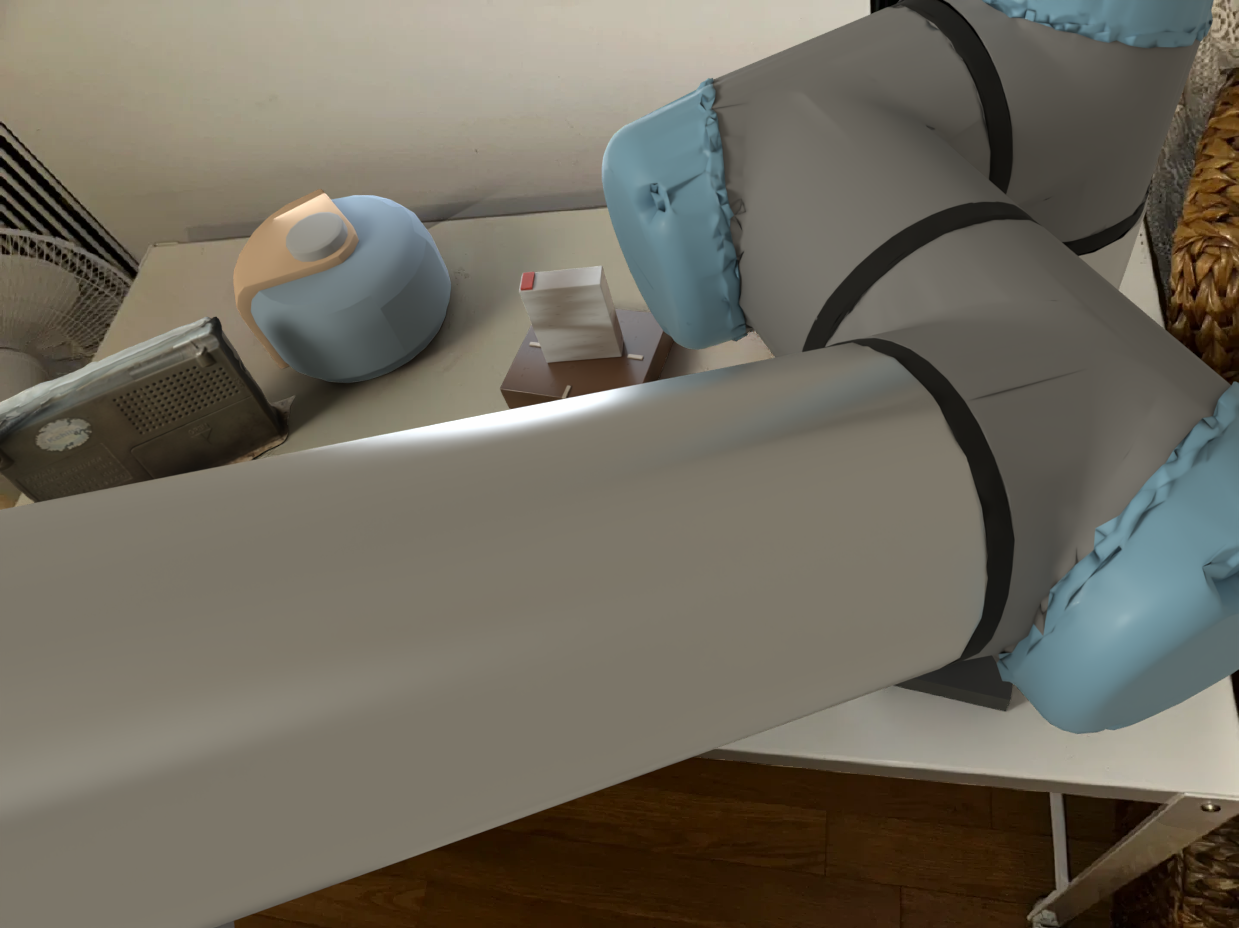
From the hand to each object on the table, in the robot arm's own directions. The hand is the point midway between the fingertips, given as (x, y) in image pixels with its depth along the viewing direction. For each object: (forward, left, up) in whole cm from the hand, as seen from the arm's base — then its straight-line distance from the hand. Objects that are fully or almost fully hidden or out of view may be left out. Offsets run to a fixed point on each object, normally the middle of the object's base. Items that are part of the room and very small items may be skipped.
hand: (961, 552), depth 57 cm
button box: (0, 0, -10) cm, 10 cm away
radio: (0, +71, -11) cm, 72 cm away
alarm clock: (+21, +61, -11) cm, 65 cm away
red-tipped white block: (+18, +34, -7) cm, 39 cm away
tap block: (+18, +34, -10) cm, 40 cm away
